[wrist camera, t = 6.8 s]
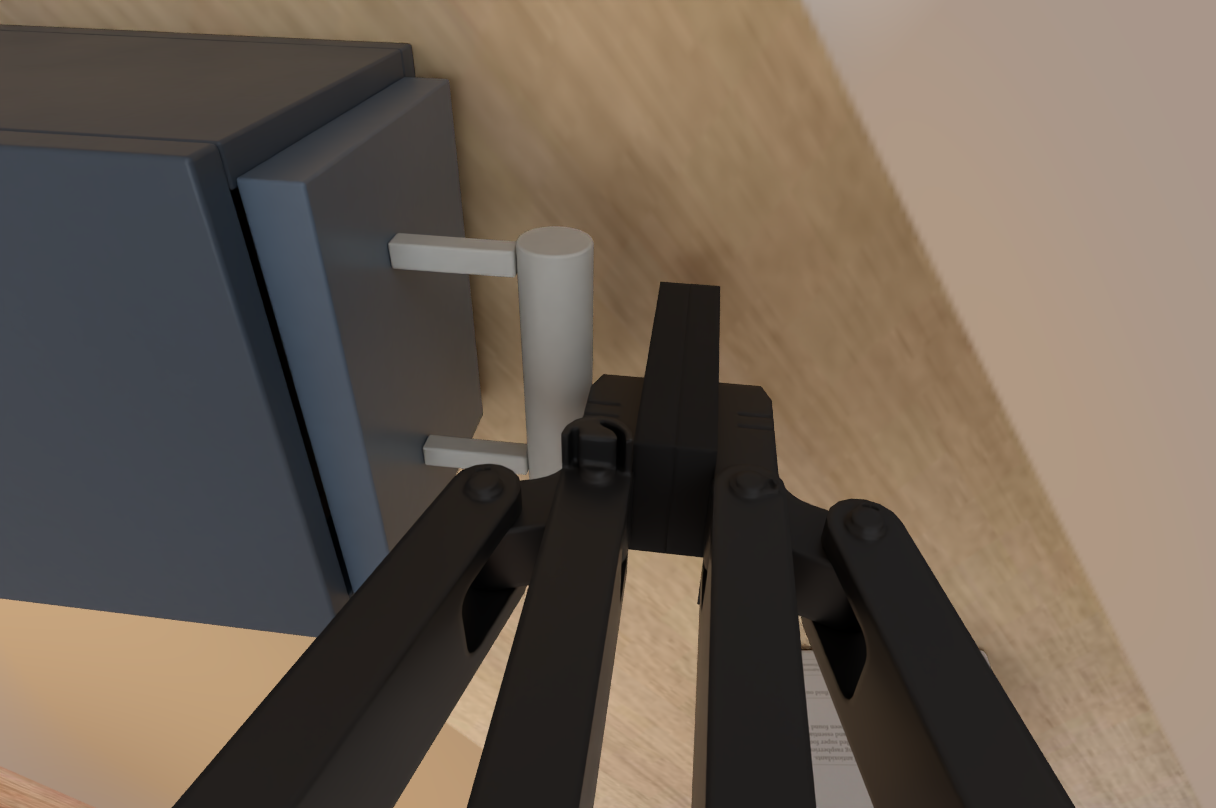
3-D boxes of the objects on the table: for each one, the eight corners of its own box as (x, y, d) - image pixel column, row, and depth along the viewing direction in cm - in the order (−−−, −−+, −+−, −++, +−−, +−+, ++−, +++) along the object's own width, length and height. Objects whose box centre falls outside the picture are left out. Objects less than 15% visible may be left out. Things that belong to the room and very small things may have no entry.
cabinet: (412, 43, 18) (188, 157, 11) (458, 409, 25) (342, 642, 17) (-73, 20, 20) (-591, 108, 12) (96, 376, 26) (-163, 580, 19)
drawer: (622, 87, 17) (568, 199, 11) (611, 426, 24) (573, 622, 17) (-12, 55, 19) (-374, 138, 13) (133, 381, 25) (-63, 547, 19)
